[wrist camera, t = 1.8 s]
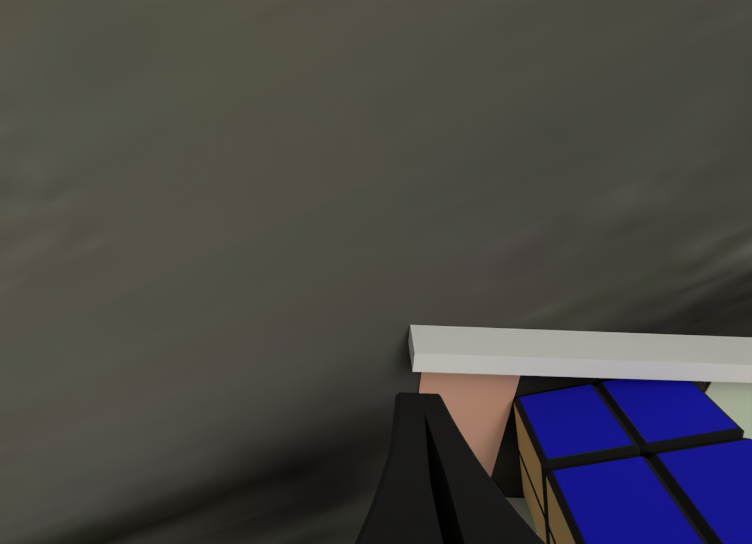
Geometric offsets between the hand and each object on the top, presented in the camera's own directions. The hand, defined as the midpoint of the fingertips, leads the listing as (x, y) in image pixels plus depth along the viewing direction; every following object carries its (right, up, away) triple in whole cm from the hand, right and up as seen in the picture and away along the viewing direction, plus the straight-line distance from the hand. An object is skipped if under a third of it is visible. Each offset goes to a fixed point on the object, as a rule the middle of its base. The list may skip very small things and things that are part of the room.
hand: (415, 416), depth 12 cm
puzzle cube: (+13, -6, +14) cm, 20 cm away
